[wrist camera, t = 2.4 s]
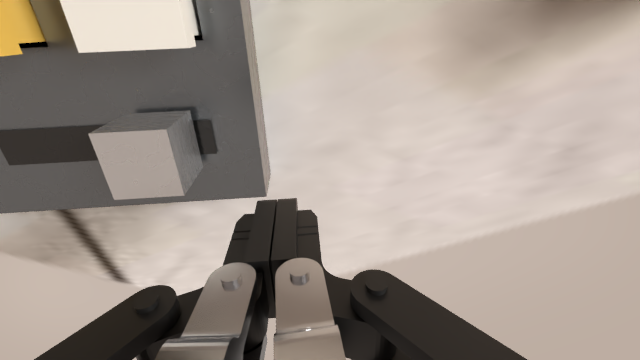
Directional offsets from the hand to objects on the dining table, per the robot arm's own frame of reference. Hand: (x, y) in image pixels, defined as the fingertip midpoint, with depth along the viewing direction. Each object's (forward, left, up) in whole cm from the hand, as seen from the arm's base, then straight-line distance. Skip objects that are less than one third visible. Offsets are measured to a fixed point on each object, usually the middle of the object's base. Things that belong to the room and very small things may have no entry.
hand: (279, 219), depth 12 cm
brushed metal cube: (0, -8, -10) cm, 13 cm away
